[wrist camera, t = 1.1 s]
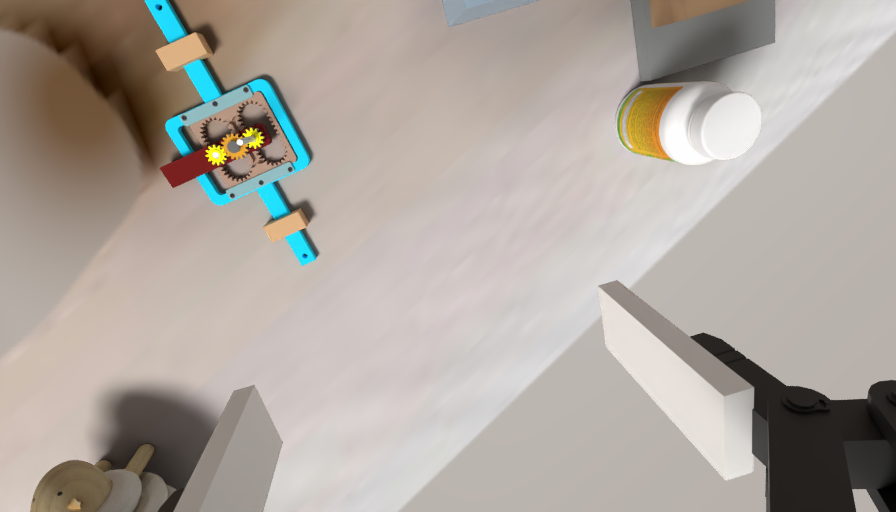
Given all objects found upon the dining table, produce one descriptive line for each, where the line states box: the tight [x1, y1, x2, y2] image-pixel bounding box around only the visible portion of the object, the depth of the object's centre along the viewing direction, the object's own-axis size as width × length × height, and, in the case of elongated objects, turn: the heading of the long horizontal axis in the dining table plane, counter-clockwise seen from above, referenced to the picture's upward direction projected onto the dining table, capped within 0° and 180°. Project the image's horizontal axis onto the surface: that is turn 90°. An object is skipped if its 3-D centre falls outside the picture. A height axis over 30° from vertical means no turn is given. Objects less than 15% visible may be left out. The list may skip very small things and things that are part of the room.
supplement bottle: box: [615, 81, 762, 165], centre depth 31 cm, size 5×5×10 cm
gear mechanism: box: [145, 0, 316, 266], centre depth 31 cm, size 20×5×9 cm
